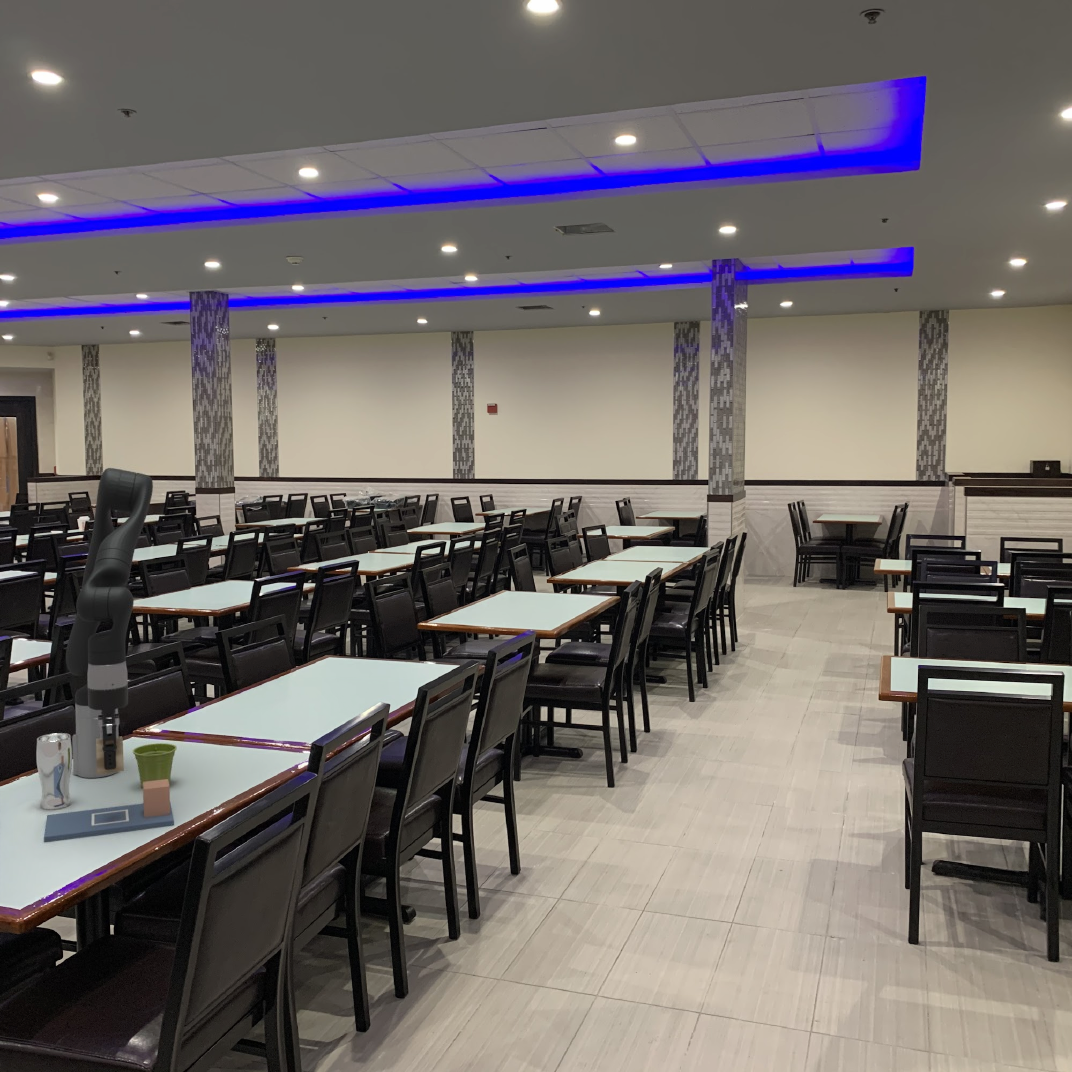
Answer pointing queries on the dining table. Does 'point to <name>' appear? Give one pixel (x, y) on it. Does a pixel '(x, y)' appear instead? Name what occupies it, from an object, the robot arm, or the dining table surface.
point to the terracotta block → (156, 798)
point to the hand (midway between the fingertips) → (110, 764)
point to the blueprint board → (102, 822)
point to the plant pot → (154, 761)
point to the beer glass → (54, 769)
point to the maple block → (101, 756)
